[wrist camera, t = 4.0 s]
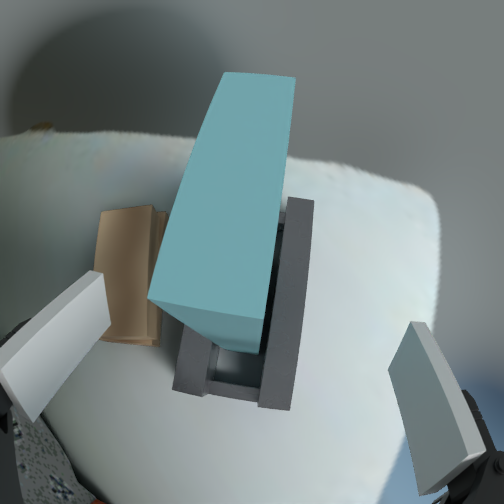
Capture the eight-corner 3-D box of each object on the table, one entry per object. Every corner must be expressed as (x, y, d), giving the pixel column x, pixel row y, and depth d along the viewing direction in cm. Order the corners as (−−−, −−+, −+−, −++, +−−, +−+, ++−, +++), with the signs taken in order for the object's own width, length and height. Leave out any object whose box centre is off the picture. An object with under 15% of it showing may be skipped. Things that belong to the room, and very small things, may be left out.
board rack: (186, 386, 21) (172, 389, 17) (221, 213, 26) (216, 187, 22) (283, 403, 20) (289, 410, 16) (306, 224, 26) (314, 200, 22)
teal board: (225, 349, 22) (146, 298, 6) (243, 253, 25) (224, 72, 9) (258, 355, 22) (264, 319, 6) (273, 257, 25) (295, 77, 9)
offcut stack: (106, 341, 22) (80, 334, 18) (123, 224, 26) (104, 201, 22) (165, 347, 22) (146, 342, 18) (176, 223, 26) (163, 197, 22)
